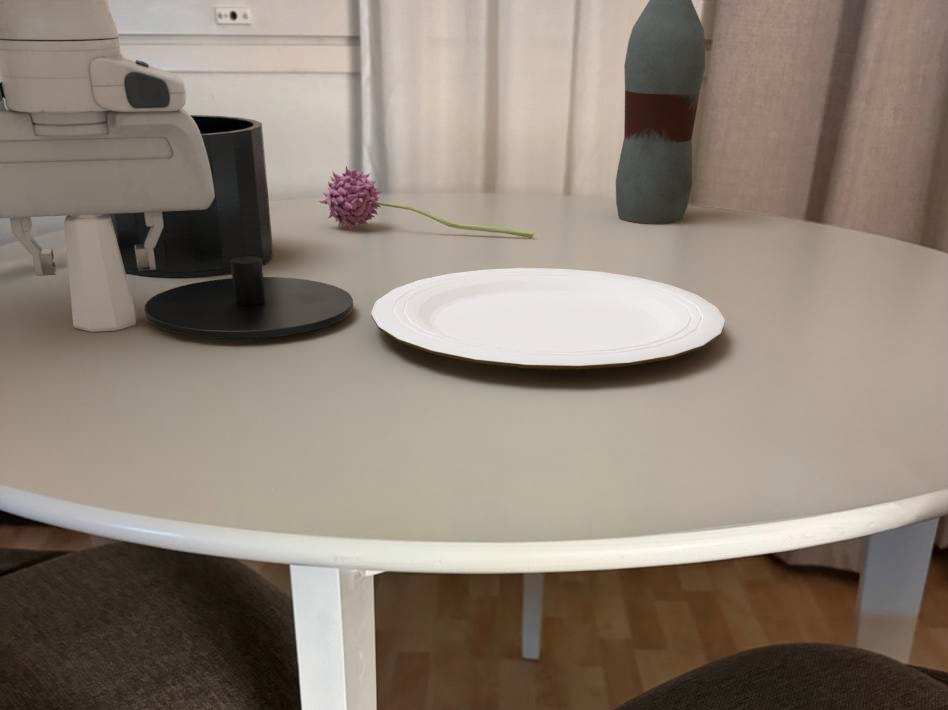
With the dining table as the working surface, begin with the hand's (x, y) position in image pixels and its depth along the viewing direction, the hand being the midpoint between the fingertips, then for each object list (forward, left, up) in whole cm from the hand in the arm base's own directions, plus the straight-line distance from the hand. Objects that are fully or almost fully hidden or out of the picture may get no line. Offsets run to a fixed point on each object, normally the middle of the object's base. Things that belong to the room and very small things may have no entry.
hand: (97, 271), depth 87 cm
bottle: (+23, +68, -4) cm, 72 cm away
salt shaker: (0, 0, -4) cm, 4 cm away
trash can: (-10, +22, -4) cm, 24 cm away
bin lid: (+9, +8, -4) cm, 13 cm away
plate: (+33, +17, -4) cm, 37 cm away
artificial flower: (+4, +46, -4) cm, 46 cm away
